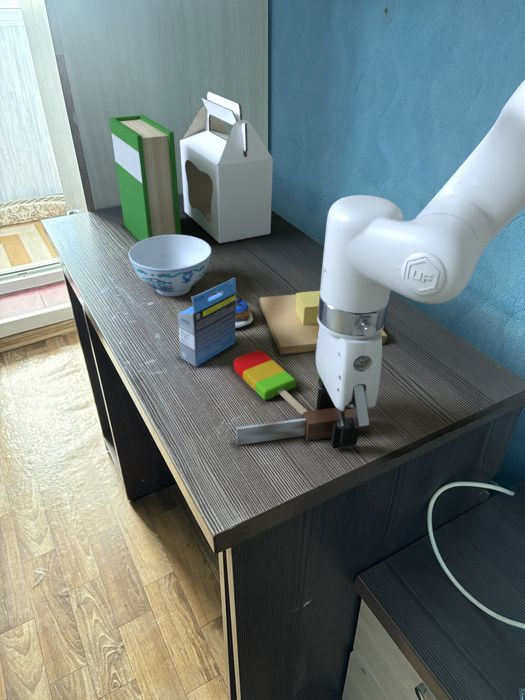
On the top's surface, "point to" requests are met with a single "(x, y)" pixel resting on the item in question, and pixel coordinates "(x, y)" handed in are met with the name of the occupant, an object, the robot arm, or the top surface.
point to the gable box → (226, 173)
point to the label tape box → (208, 324)
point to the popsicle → (266, 377)
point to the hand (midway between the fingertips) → (335, 426)
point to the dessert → (242, 313)
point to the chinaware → (170, 262)
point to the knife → (294, 427)
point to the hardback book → (146, 176)
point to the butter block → (307, 306)
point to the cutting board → (291, 325)
